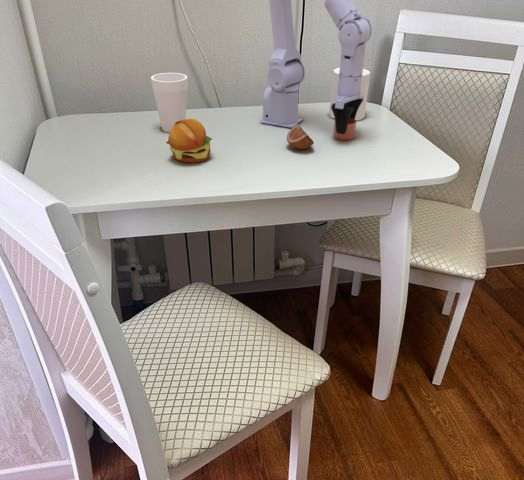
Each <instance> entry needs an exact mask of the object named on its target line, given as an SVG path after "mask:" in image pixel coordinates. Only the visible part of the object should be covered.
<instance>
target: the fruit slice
mask: <svg viewBox="0 0 524 480" xmlns="http://www.w3.org/2000/svg"><path fill="white" fill-rule="evenodd" d="M286 142H287V143H288V144H289V145H290V146H291V147H293V148H295V149H299V150H304V149H307V148H310V147H312V146H313V145H314V144H315V142H314V140H313V139H312V138H311V137H310V136H309V134H307V132H305V130H304V129H303V128H302V127H301V126H300V125H299V123H298V124H296V125H295V126H294V127H293V128H290V129H289V131H288V133H287V134H286Z"/></svg>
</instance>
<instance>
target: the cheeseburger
mask: <svg viewBox="0 0 524 480" xmlns="http://www.w3.org/2000/svg"><path fill="white" fill-rule="evenodd" d="M206 131H207V130H206V127H204V125H203V124H202V123H201V121H199V120H197V119H196V118H186V119H184V120H180V121H177V122H176V123H175V124H174V126H173V128H172V130H171V132H169V134H168V138H167V139H168V140H167V141H165V142H166V144H167V145H169V150H170V152H171V153H172V155H173V158H174V159H176V160H177V161H180V162H184V163H200V162H203V161H206V160H207V159H209V158H210V155H211V141H212V140H213V138H211V137H210V136H208V135H207V132H206Z"/></svg>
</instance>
